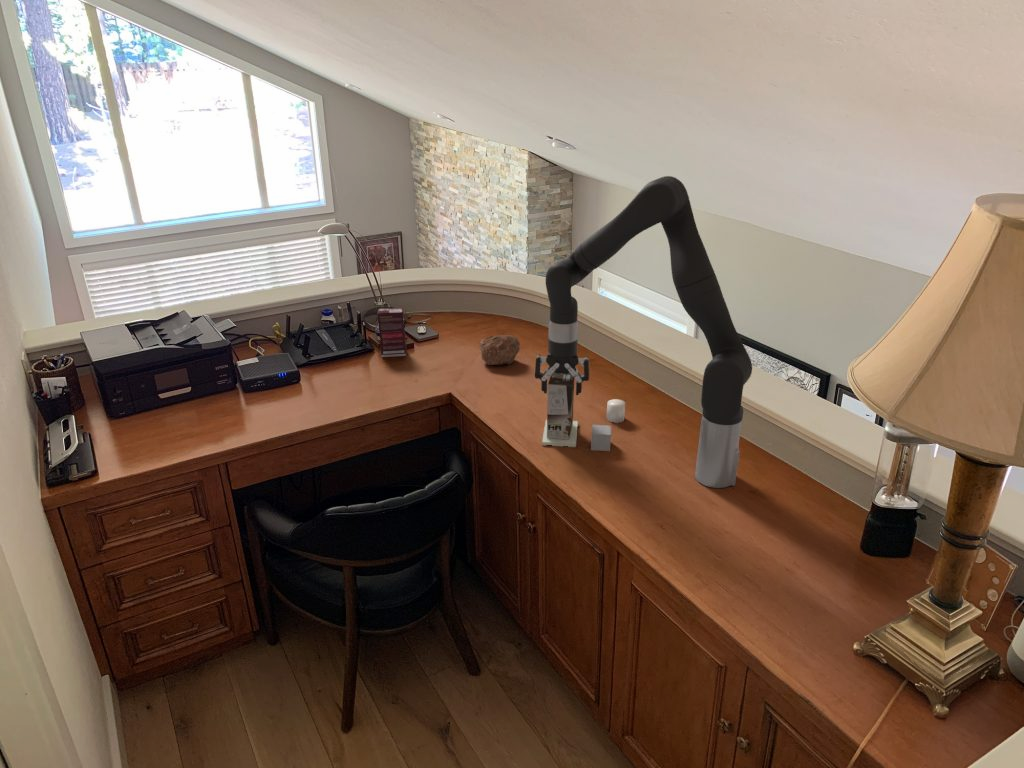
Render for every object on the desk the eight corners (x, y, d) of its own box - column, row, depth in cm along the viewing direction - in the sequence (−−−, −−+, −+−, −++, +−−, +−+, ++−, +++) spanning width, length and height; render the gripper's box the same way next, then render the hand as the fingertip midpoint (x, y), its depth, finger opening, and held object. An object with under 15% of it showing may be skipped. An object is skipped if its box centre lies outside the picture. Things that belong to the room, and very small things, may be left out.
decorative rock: (522, 357, 255) (522, 329, 250) (516, 370, 245) (516, 342, 240) (484, 354, 257) (483, 327, 253) (476, 367, 247) (476, 339, 243)
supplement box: (406, 350, 260) (403, 307, 253) (406, 356, 256) (403, 312, 249) (381, 352, 259) (377, 308, 253) (380, 357, 255) (377, 313, 248)
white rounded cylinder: (624, 415, 216) (625, 399, 214) (624, 423, 212) (625, 407, 210) (606, 414, 217) (607, 398, 215) (606, 422, 212) (607, 406, 210)
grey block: (610, 442, 202) (611, 425, 200) (609, 451, 198) (610, 434, 196) (591, 441, 203) (592, 424, 201) (590, 450, 199) (591, 433, 196)
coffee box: (570, 440, 201) (572, 385, 194) (546, 438, 202) (547, 383, 195) (573, 424, 209) (575, 371, 202) (550, 422, 210) (551, 369, 203)
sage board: (577, 424, 211) (577, 421, 211) (575, 447, 200) (575, 443, 199) (545, 422, 212) (545, 419, 212) (541, 445, 201) (542, 442, 200)
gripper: (534, 340, 191) (533, 398, 198) (590, 343, 190) (587, 400, 197) (536, 330, 198) (536, 385, 205) (591, 332, 196) (588, 388, 203)
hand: (561, 393), depth 201 cm, fingers open, 8 cm apart
